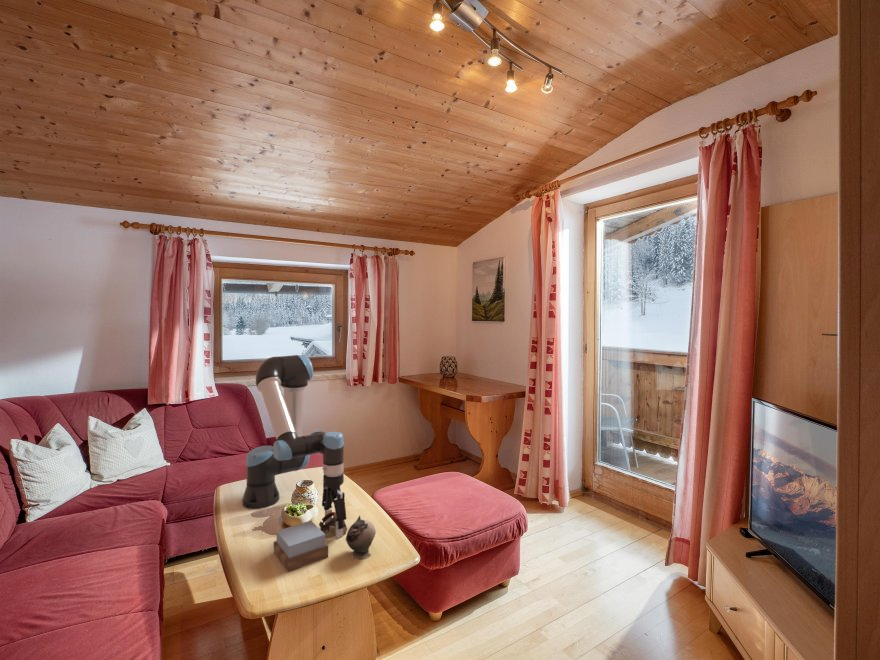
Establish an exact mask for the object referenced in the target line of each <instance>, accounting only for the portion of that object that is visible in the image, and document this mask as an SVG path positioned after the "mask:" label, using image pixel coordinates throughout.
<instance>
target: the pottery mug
mask: <svg viewBox="0 0 880 660" xmlns="http://www.w3.org/2000/svg"><path fill="white" fill-rule="evenodd" d="M330 517H332V519H331V520H330V521H329V522H328V523H326V524H325V521H326V520H327V519H328V518H330ZM321 520H322V521H319V524H318V525H319V529H320V530H321V531H322V532H323V533H324V532H325V533H326V532H329V533H331V528H332V527H333V528H336V521H335V520H337V517H336V512H335V511H332V512H331V513H328V514H327V515H326V516H325V515H324V516H323V518H322V519H321ZM345 521H346V520H343V535H346V534H347V533H348V527H347V525H346V522H345Z"/></svg>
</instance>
